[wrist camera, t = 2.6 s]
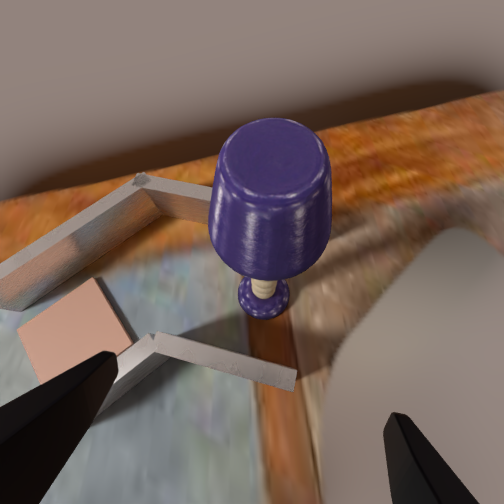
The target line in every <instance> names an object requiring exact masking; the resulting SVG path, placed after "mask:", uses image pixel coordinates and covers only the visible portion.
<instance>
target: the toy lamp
mask: <svg viewBox="0 0 504 504" xmlns="http://www.w3.org/2000/svg"><path fill="white" fill-rule="evenodd" d="M331 188H332V182H331V166H330V160H329V156H328V153H327V150H326V148H325V146H324V144H323V142H322V141H321V139H320V138H319V137H318V136H317V135H316V134H315V133H314V132H313V131H311V130H310V129H309V128H307V127H306V126H304V125H302V124H300V123H298V122H295V121H292V120H288V119H284V118H264V119H259V120H255V121H252V122H250V123H248V124H245V125H243V126H242V127H240V128H239V129H238V130H236V131H235V132H234V133H233V134H232V135H231V136H230V137H229V138H228V139H227V141H226V142H225V144H224V145H223V147H222V149H221V151H220V154H219V157H218V161H217V166H216V171H215V176H214V183H213V188H212V195H211V201H210V208H209V215H208V229H209V234H210V239H211V242H212V244H213V246H214V248H215V250H216V252H217V254H218V255H219V256H220V258H221V259H222V260H223V261H224V263H225V264H227V265H228V266H229V267H230V268H232V269H233V270H234V271H236V272H237V273H239V274H241V275H243V276H245V277H244V278H243V279H242V281H241V283H240V285H239V288H238V299H239V303H240V305H241V307H242V309H243V310H244V311H245V312H246V313H247V314H248V315H250V316H252V317H254V318H256V319H262V320H268V319H271V318H274V317H276V316H278V315H279V314H280V313H282V312H283V311H284V309H285V308H286V306H287V304H288V301H289V287H288V284H287V282H286V281H285V279H287V278H291V277H294V276H296V275H298V274H300V273H302V272H304V271H306V270H307V269H308V268H309V267H311V266H312V265H313V264H314V263H315V262H316V261H317V260H318V259H319V258H320V256H321V255H322V253H323V251H324V250H325V248H326V245H327V243H328V240H329V237H330V232H331V222H332V189H331Z"/></svg>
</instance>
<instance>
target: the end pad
mask: <svg viewBox="0 0 504 504" xmlns="http://www.w3.org/2000/svg"><path fill="white" fill-rule="evenodd" d="M17 332H18V334H19V336H20V338H21V341H22V343H23V345H24V348H25V350H26V352H27V354H28V357H29V359H30V361H31V364H32V366H33V368H34V370H35V373H36V375H37V377H38V380H39V382H40V384H43V383H45V382H47V381H48V380H50V379H52V378H54V377H56V376H57V375H59V374H61V373H63V372H65V371H67V370H68V369H70V368H72V367H74V366H76V365H77V364H79V363H81V362H83V361H85V360H86V359H88V358H90V357H92V356H94V355H96V354H97V353H99V352H101V351H110V352H114V353H115V354H116V356H117V357H118V356H119V355H120V354H122V353H123V352H124V351H126V350H127V349H128V348H129V347H131V346H132V345H133V344H134V343H133V341H132V339H131V338H130V336H129V334H128V333H127V331H126V329H125V328H124V326H123V324H122V322H121V321H120V319H119V317H118V316H117V314H116V312H115V311H114V309H113V307H112V306H111V304H110V302H109V301H108V299H107V297H106V295H105V294H104V292H103V290H102V289H101V287H100V285H99V284H98V282H97V280H96V279H95V278H94V277H92V278H90V279H89V280H88V281H86V282H85V283H83V284H82V285H80V286H79V287H77V288H76V289H75V290H73V291H72V292H70V293H69V294H67V295H66V296H65V297H63V298H62V299H60V300H59V301H57V302H56V303H54V304H53V305H52V306H50V307H49V308H47V309H46V310H44V311H43V312H41V313H40V314H39V315H37V316H36V317H34V318H33V319H31V320H30V321H29V322H27V323H26V324H24V325H23V326H21V327H20V328H18V329H17Z"/></svg>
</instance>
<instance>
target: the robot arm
mask: <svg viewBox="0 0 504 504" xmlns="http://www.w3.org/2000/svg"><path fill="white" fill-rule="evenodd" d="M118 372H119V368H118V362H117V356H116V354H115V353H114V352H110V351H101V352H99V353H97V354H96V355H94V356H92V357H90V358H88V359H86V360H85V361H83V362H81V363H79V364H77V365H76V366H74V367H72V368H70V369H68V370H67V371H65V372H63V373H61V374H59V375H57V376H56V377H54V378H52V379H50V380H48V381H47V382H45V383H43V384H41V385H39V386H38V387H36V388H34V389H32V390H30V391H28V392H27V393H25V394H23V395H21V396H19V397H18V398H16V399H14V400H12V401H10V402H9V403H7V404H5V405H3V406H1V407H0V504H39V503H40V502H41V500H42V499H43V497H44V496H45V494H46V492H47V491H48V489H49V488H50V486H51V485H52V483H53V482H54V480H55V479H56V477H57V476H58V474H59V473H60V471H61V470H62V468H63V467H64V465H65V464H66V462H67V461H68V459H69V457H70V456H71V454H72V453H73V451H74V450H75V448H76V447H77V445H78V444H79V442H80V441H81V439H82V438H83V436H84V435H85V433H86V432H87V430H88V428H89V427H90V425H91V424H92V422H93V420H94V419H95V417H96V415H97V413H98V411H99V409H100V408H101V406H102V404H103V402H104V400H105V398H106V396H107V395H108V393H109V391H110V389H111V387H112V385H113V383H114V381H115V380H116V378H117V375H118ZM383 437H384V445H385V453H386V461H387V468H388V476H389V484H390V491H391V497H392V502H393V504H479V503H478V502H477V500H476V499H475V498H474V497H473V495H472V494H471V493H470V492H469V490H468V489H467V488H466V487H465V486H464V484H463V483H462V482H461V480H460V479H459V478H458V477H457V476H456V474H455V473H454V472H453V471H452V469H451V468H450V467H449V466H448V465H447V463H446V462H445V461H444V460H443V458H442V457H441V456H440V455H439V453H438V452H437V451H436V450H435V448H434V447H433V446H432V445H431V443H430V442H429V441H428V440H427V438H426V437H425V436H424V435H423V434H422V432H421V431H420V430H419V429H418V427H417V426H416V425H415V424H414V422H413V421H412V420H411V419H410V418H409V417H408V416H407V415H405V414H401V413H396V412H393V413H391V415H390V417H389V419H388V421H387V423H386V425H385V428H384V431H383Z"/></svg>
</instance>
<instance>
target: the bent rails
mask: <svg viewBox="0 0 504 504" xmlns="http://www.w3.org/2000/svg"><path fill="white" fill-rule="evenodd" d="M211 195H212V187H207V186H202V185H197V184H191V183H186V182H181V181H176V180H171V179H165V178H160V177H155V176H150V175H146V174H145V173H144V172H143V173H141V174H139V173H137V175H136V177H135V178H133V179H132V180H130V181H129V182H127V183H125V184H124V185H122V186H121V187H119V188H118V189H116V190H114V191H113V192H111V193H110V194H108V195H107V196H105V197H104V198H102V199H100V200H99V201H97V202H96V203H94V204H93V205H91V206H90V207H88V208H86V209H85V210H83V211H82V212H80V213H79V214H77V215H75V216H74V217H72V218H71V219H69V220H68V221H66V222H65V223H63V224H61V225H60V226H58V227H57V228H55V229H54V230H52V231H50V232H49V233H47V234H46V235H44V236H43V237H41V238H40V239H38V240H36V241H35V242H33V243H32V244H30V245H29V246H27V247H25V248H24V249H22V250H21V251H19V252H18V253H16V254H15V255H13V256H11V257H10V258H8V259H7V260H5V261H4V262H2V263H0V309H5V310H11V311H17V312H21V311H22V310H24V309H25V308H27V307H28V306H30V305H31V304H33V303H34V302H36V301H37V300H38V299H40V298H41V297H43V296H44V295H46V294H47V293H49V292H50V291H52V290H53V289H55V288H56V287H58V286H59V285H60V284H62V283H63V282H65V281H66V280H68V279H69V278H71V277H72V276H74V275H75V274H77V273H78V272H79V271H81V270H82V269H84V268H85V267H87V266H88V265H90V264H91V263H93V262H94V261H96V260H97V259H98V258H100V257H101V256H103V255H104V254H106V253H107V252H109V251H110V250H112V249H113V248H115V247H116V246H117V245H119V244H120V243H122V242H123V241H125V240H126V239H128V238H129V237H131V236H132V235H134V234H135V233H136V232H138V231H139V230H141V229H142V228H144V227H145V226H147V225H148V224H150V223H151V222H153V221H154V220H155V219H157V218H158V217H160V216H161V215H166V216H170V217H175V218H180V219H185V220H189V221H194V222H199V223H203V224H208V215H209V208H210V201H211ZM170 357H174V358H177V359H181V360H184V361H188V362H191V363H195V364H198V365H201V366H205V367H208V368H212V369H215V370H219V371H222V372H226V373H229V374H232V375H236V376H239V377H243V378H246V379H250V380H253V381H256V382H260V383H263V384H267V385H270V386H274V387H277V388H281V389H284V390H287V391H291V392H293V391H294V385H295V380H296V375H297V370H295V369H294V368H292V367H288V366H285V365H281V364H278V363H274V362H270V361H267V360H263V359H260V358H256V357H252V356H249V355H245V354H242V353H238V352H234V351H231V350H227V349H224V348H220V347H217V346H213V345H209V344H206V343H202V342H199V341H195V340H191V339H188V338H184V337H181V336H177V335H172V334H167V333H163V332H158V331H157V332H156V334H150V333H148V334H147V335H145V336H144V337H143V338H142V339H140V340H139V341H138V342H136V343H135V344H134V345H132V346H131V347H130V348H129V349H127V350H126V351H125V352H123V353H122V354H121V355H119V356H118V357H117V362H118V368H119V372H118V375H117V378H116V380H115V381H114V383H113V385H112V387H111V389H110V391H109V393H108V395H107V396H106V398H105V400H104V402H103V404H102V406H101V408H100V409H99V411H98V413H97V415H96V417H97V416H98V415H99V414H101V413H102V412H103V411H104V410H106V409H107V408H108V407H109V406H111V405H112V404H113V403H114V402H116V401H117V400H118V399H119V398H121V397H122V396H123V395H124V394H126V393H127V392H128V391H129V390H131V389H132V388H133V387H134V386H135V385H137V384H138V383H139V382H140V381H142V380H143V379H144V378H145V377H147V376H148V375H149V374H150V373H152V372H153V371H154V370H155V369H157V368H158V367H159V366H160V365H162V364H163V363H164V362H165V361H167V360H168V359H169V358H170ZM96 417H95V418H96Z"/></svg>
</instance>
